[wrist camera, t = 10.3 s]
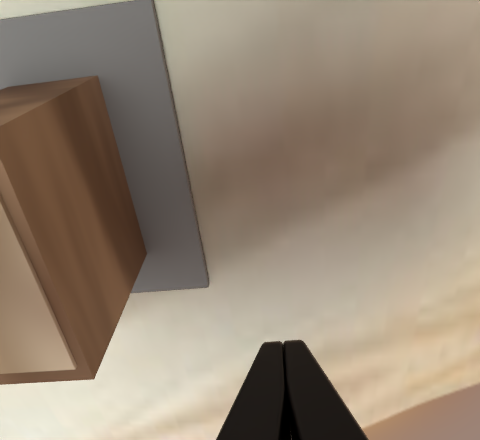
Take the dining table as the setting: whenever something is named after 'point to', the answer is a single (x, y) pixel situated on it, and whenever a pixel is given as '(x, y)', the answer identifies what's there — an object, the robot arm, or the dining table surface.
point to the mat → (122, 119)
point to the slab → (61, 232)
